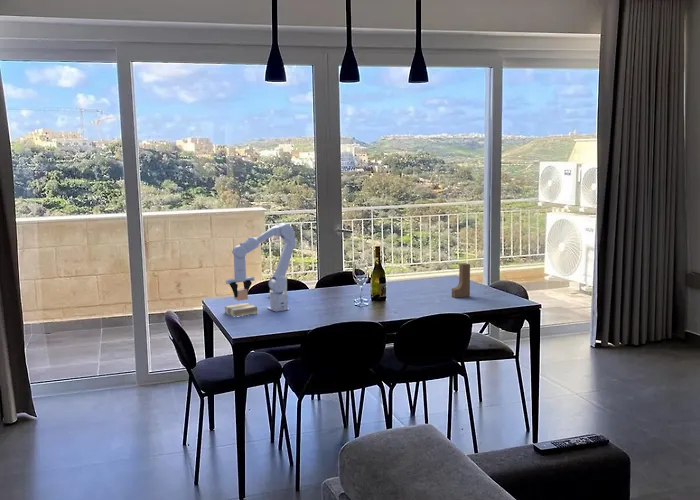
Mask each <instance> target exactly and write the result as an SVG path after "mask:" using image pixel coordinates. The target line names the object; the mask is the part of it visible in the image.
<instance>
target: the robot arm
mask: <svg viewBox="0 0 700 500" xmlns="http://www.w3.org/2000/svg"><path fill="white" fill-rule="evenodd" d="M273 236H274V237H281V238H282V241H283V242H284V243H283V244H284V245H283V246H282V247H283V248H282V250H281V253H280V257H279V261H278V264H277V266H276V269H275V271H274V273H273V274H272V276H271V277H272V278H271V279H270V278H269V281H268V287H269V301H270V303H269V306H268V307H266V308H267V310H270V311H273V312H283V311H287V310H288V311H289V310H290V308H289V307H288V305H289V304H288V296H287V295H285V294H284V289H285V277H286V274H287V271H288V268H289V264H290V261H291V259H292V254H293V252H294V249H295V246H296V244H297V243H296V242H297V241H296V238H295V237H296V236H295V230H294V228H293V227H292V226H291V225H290V224H288V223H287V224H286V223H284V222H279V223H277V224H276V225H275V224H274V225H273V226H272V227H270V228H269V229H268V230H266V231H264V232H263V233H261V234H260V235H258V236H257V237H254V236H252V237H248V238H247V239H246V240H245V241H243V242H239V245H238V244H237V245H235V246H233V249H232V251H231V252H232V254H233V270H234V273H233V274H234V277H233V278H229V279H225V284H227V285H229V287H230V288H231V290H232V293H233V296H234V297H237V289H239V288H238V286H239V284H237V283H243V288H245V289H247V292H248V293H249V291H250V289H251V286H252V281H253V282H255V276H247V267H246V266H247V265H246V263H247V262H246V256H247V254H248V253H251V252H252V251H254V250H255V249H257V248H259V246H260V244H261V243H263V242H265V241H266V240H269V239H270V238H272V237H273ZM270 288H271V290H270ZM234 297H233V298H234Z"/></svg>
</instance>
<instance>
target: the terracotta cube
mask: <svg viewBox="0 0 700 500" xmlns="http://www.w3.org/2000/svg"><path fill="white" fill-rule="evenodd" d="M248 296H249V291H248V292H247V289H245V288H244V287H240V288H237V297H233V298H234V300H236V301H238V302H239V301H245V300H248V299H249V297H248Z"/></svg>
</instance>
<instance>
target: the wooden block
mask: <svg viewBox="0 0 700 500" xmlns="http://www.w3.org/2000/svg"><path fill="white" fill-rule="evenodd" d="M458 264H459V266H458V267H459V268H458V269H459V270H458V274H459V275H458V284H457V286H455V287H453V288H451V297H452V298H454V299H458V298H469V297H471V296H470V295H471V292H470V291H471V285H470V284H471V264H470V263H468V262H465V263H458Z"/></svg>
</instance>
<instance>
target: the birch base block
mask: <svg viewBox="0 0 700 500" xmlns="http://www.w3.org/2000/svg"><path fill="white" fill-rule="evenodd" d="M226 313H227V315H228V314H229V315H228V316H231V315H232V316H231V317H233V316H235V317H236V318H238V317H237V316H242V315H248V316H250V315H249V314H254V315H256V314H255V313H257V314H258V307H257V306H256V305H253V304H251V303H248V302H242V303H235V304H230V305H224V314H226ZM235 317H234V318H235ZM242 317H243V316H242Z"/></svg>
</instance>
